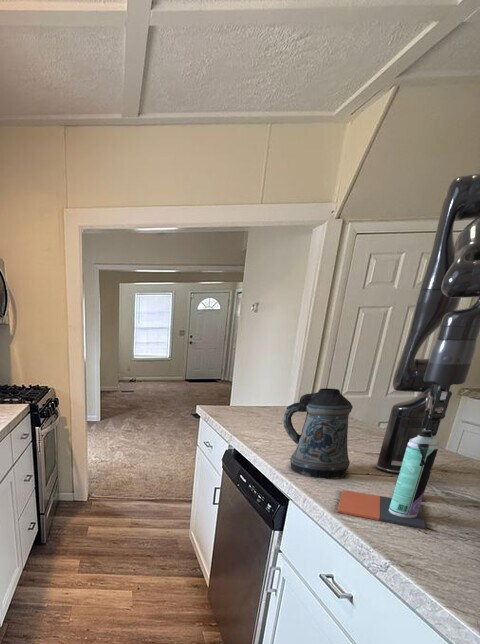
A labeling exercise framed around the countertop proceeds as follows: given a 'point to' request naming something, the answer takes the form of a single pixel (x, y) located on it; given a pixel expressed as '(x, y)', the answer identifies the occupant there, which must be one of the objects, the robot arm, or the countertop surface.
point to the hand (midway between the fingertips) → (428, 431)
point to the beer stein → (320, 434)
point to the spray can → (414, 475)
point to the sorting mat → (375, 509)
